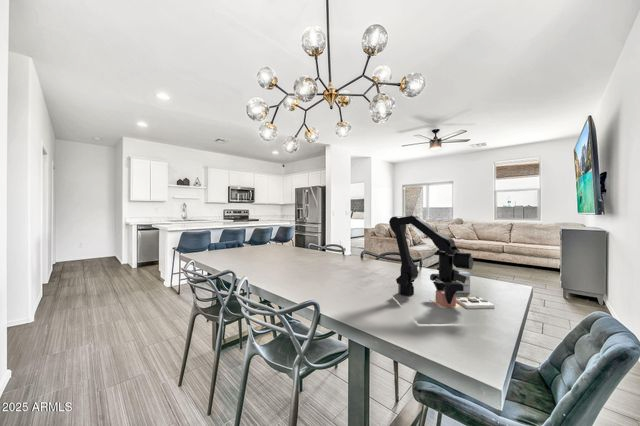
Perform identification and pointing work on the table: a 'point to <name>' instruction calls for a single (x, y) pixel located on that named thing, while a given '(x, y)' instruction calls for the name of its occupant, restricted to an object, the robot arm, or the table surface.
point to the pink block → (444, 298)
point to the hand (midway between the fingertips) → (445, 301)
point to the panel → (469, 304)
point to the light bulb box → (467, 282)
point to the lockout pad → (446, 306)
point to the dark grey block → (473, 300)
